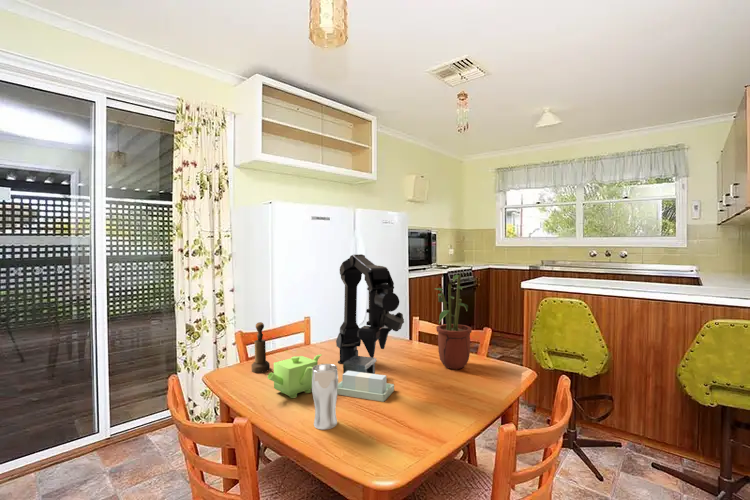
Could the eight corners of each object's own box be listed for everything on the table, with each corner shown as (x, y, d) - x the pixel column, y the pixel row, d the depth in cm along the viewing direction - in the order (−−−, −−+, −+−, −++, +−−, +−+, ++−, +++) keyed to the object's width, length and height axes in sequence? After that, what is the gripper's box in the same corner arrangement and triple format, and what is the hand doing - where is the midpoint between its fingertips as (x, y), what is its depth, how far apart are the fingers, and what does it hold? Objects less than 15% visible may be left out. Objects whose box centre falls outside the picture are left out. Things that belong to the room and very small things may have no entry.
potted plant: (478, 366, 144) (478, 274, 143) (455, 377, 133) (454, 277, 133) (440, 356, 157) (440, 272, 156) (416, 365, 146) (415, 274, 145)
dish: (333, 393, 120) (332, 387, 120) (346, 383, 128) (345, 377, 128) (384, 401, 113) (384, 395, 113) (394, 390, 122) (394, 384, 122)
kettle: (322, 382, 129) (321, 350, 129) (317, 400, 115) (316, 363, 115) (278, 383, 129) (277, 350, 129) (267, 401, 115) (266, 364, 115)
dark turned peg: (247, 371, 141) (246, 323, 141) (259, 366, 147) (258, 320, 147) (262, 373, 139) (261, 324, 138) (273, 368, 145) (272, 321, 144)
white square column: (342, 390, 121) (342, 374, 121) (348, 385, 125) (347, 370, 125) (382, 396, 116) (381, 379, 116) (386, 391, 120) (386, 375, 120)
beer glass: (313, 418, 103) (312, 363, 103) (339, 417, 104) (338, 362, 103) (311, 431, 96) (310, 372, 96) (338, 430, 97) (337, 371, 96)
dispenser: (343, 382, 130) (343, 362, 130) (354, 373, 138) (354, 355, 138) (366, 385, 126) (366, 365, 126) (376, 376, 135) (376, 357, 135)
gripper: (390, 313, 112) (390, 365, 113) (409, 302, 129) (409, 347, 130) (356, 310, 116) (356, 360, 117) (379, 300, 134) (379, 344, 134)
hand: (377, 352), depth 125 cm, fingers open, 9 cm apart
